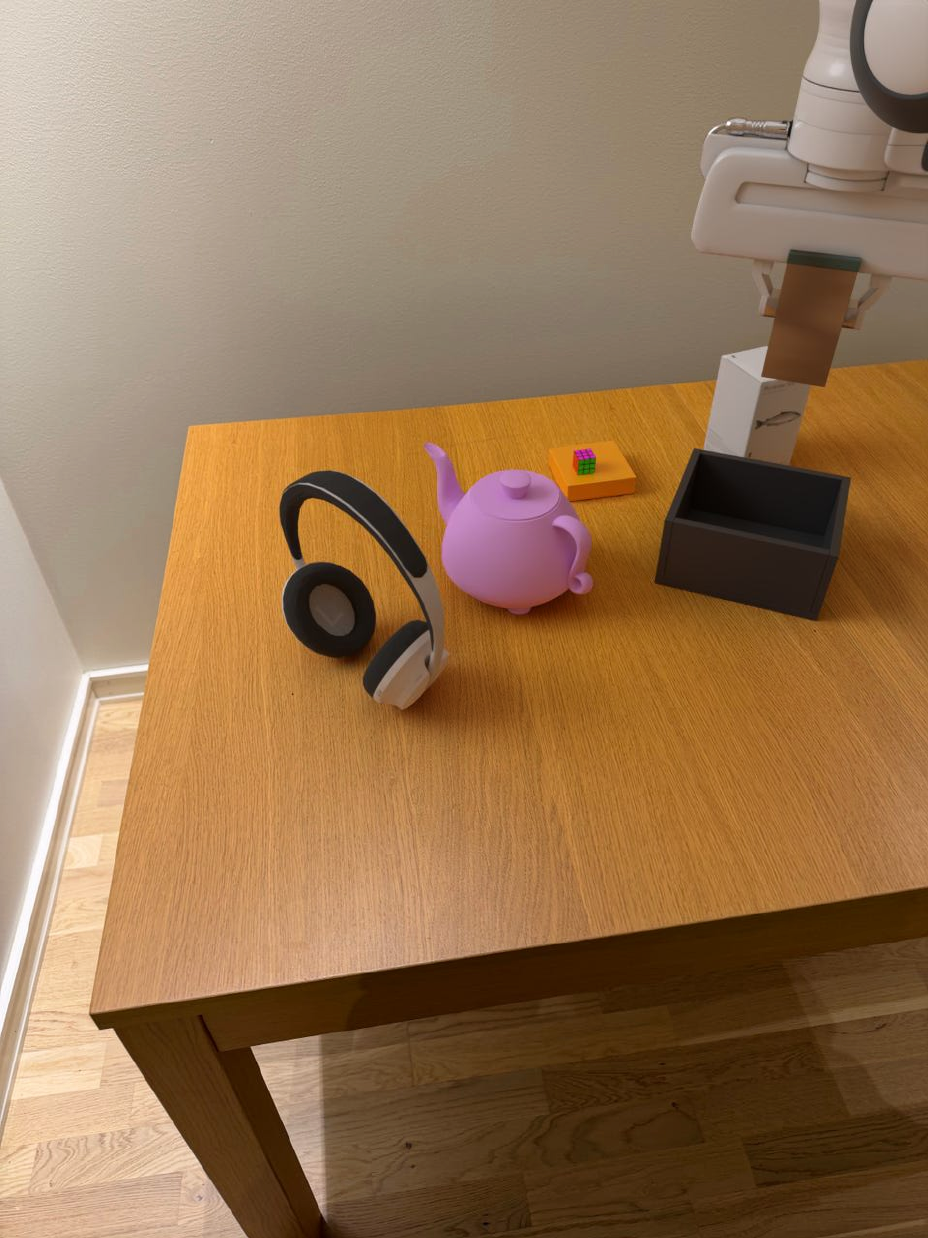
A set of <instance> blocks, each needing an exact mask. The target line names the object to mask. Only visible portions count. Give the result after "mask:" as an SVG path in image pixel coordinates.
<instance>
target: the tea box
mask: <svg viewBox="0 0 928 1238" xmlns="http://www.w3.org/2000/svg"><path fill="white" fill-rule="evenodd" d="M861 261H862V258H860V257H852V256H844V255H835V254H827V253H819V252H811V251H802V250H794V249H790V251H789V254H788V258H787V264H786V265H785V271H784V275H783V279H782V283H781V287H780V289H781V292H780V296H779V300H778V305H777V309H776V313H775V318H773V323H772V327H771V331H770V335H769V338H768V339H769V340H768V344H767V346H768V348H767V352H766V357H765V361H764V365H763V370H762V374H761V377H765V378H771V379H777V380H783V381H789V382H796V383H802V384H808V385H811V386H814V387H815V386H816V387H821V388H825V387H826V385H827V382H828V379H829V375H830V371H831V367H832V363H833V360H834V357H835V354H836V350H837V347H838V342H839V339H840V335H841V333H842V329H843V328H842V326H843V322H844V318H845V315H846V311H847V308H848V304H849V301H850V299H851V297H852V294H853V291H854V287H855V283H856V279H857V276H858V271H859V269H860V265H861Z"/></svg>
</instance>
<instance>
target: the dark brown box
mask: <svg viewBox="0 0 928 1238" xmlns="http://www.w3.org/2000/svg"><path fill="white" fill-rule="evenodd" d="M851 481H852V478H851V476H845V475H841V474H835V473H831V472H826V471H819V470H814V469H809V468H803V467H798V466H793V465H789V466H788V465H783V464H777V463H772V462H766V461H761V460H756V459H750V458H745V457H740V456H734V455H729V454H724V453H718V452H713V451H707V450H703V449H702V448H697V447H694V448H693V449H692V452H691V454H690V457H689V459H688V462H687V464H686V467H685V469H684V472H683V474H682V477H681V479H680V482H679V483H678V487H677V489H676V491H675V494H674V496H673V499H672V501H671V503H670V506H669V508H668V510H667V514H666V516H665V519H664V522H663V529H662V534H661V542H660V547H659V553H658V560H657V564H656V571H655V577H654V584H657V585H661V586H665V587H670V588H674V589H678V590H682V591H686V592H691V593H695V594H699V595H704V596H708V597H712V598H717V599H720V600H725V601H729V602H733V603H739V604H743V605H747V606H751V607H755V608H759V609H764V610H768V611H772V612H777V613H781V614H785V615H789V616H794V617H798V618H803V619H807V620H811V621H815V622H817V621H818V619H819V616H820V614H821V609H822V607H823V604H824V601H825V598H826V595H827V592H828V590H829V587H830V583H831V580H832V578H833V575H834V572H835V569H836V566H837V563H838V560H839V557H840V551H841V545H842V539H843V532H844V526H845V518H846V513H847V506H848V501H849V494H850V488H851V487H850V486H851Z"/></svg>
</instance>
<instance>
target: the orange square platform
mask: <svg viewBox="0 0 928 1238" xmlns="http://www.w3.org/2000/svg"><path fill="white" fill-rule="evenodd" d="M547 461H548V462H547V465H548V468H549V469H550V471H551V473H552V475H553V477H554V479H555V481H556V483H557V486H558V487H559V488H560V489H561V491H562V492H563V493H564V495H565V496H566V497H567V499H568V500H569V502H570V503H571V502H577V501H585V500H586V501H587V500H593V499H599V498H608V497H616V496H623V495H631V494H635V492H636V484H637V478H638V477H637V475H636V474H635V472H634V470H633V469H632V467H631V465H630V464H629V462H628V460H627V459H626V457H625V456H624V454H623V452H622V451H621V449H620V447H619V446H618V444H617V443H616V441H615V440H606V441H598V442H590V443H581V444H575V445H564V446H557V447H550V448H548V456H547Z"/></svg>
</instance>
